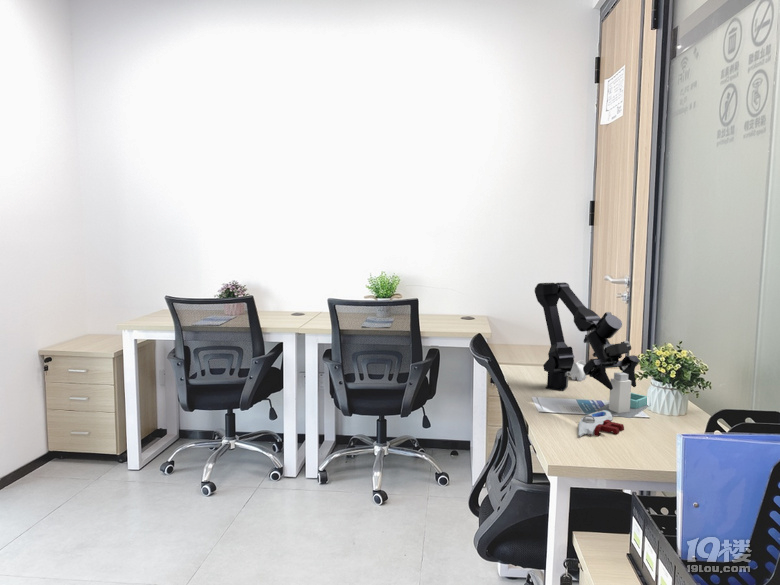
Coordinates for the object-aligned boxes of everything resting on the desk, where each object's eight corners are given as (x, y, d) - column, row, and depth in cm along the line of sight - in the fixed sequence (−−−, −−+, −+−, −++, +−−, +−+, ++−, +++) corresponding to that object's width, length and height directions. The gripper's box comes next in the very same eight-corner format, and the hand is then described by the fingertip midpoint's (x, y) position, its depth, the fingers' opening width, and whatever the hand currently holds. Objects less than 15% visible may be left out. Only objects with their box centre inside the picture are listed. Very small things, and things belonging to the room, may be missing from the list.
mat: (630, 421, 191) (630, 418, 191) (595, 413, 198) (595, 410, 198) (653, 406, 207) (653, 403, 207) (620, 399, 214) (620, 396, 214)
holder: (612, 402, 206) (613, 395, 206) (625, 398, 212) (626, 391, 211) (636, 408, 200) (636, 401, 200) (648, 404, 206) (649, 396, 205)
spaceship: (595, 416, 196) (596, 402, 196) (616, 421, 192) (617, 407, 192) (564, 435, 178) (565, 420, 178) (587, 441, 174) (588, 425, 174)
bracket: (607, 418, 186) (594, 426, 178) (627, 422, 182) (614, 431, 174) (607, 427, 186) (594, 436, 178) (626, 432, 182) (613, 441, 175)
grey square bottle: (608, 409, 200) (610, 372, 198) (619, 407, 201) (621, 371, 200) (618, 413, 196) (620, 375, 194) (629, 411, 197) (631, 374, 196)
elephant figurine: (568, 375, 247) (569, 357, 246) (591, 379, 241) (592, 361, 240) (559, 378, 241) (560, 360, 241) (583, 383, 235) (584, 364, 234)
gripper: (590, 334, 196) (613, 376, 187) (637, 330, 203) (661, 372, 194) (573, 353, 204) (594, 395, 195) (619, 350, 211) (641, 390, 202)
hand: (623, 387), depth 196 cm, fingers open, 9 cm apart
